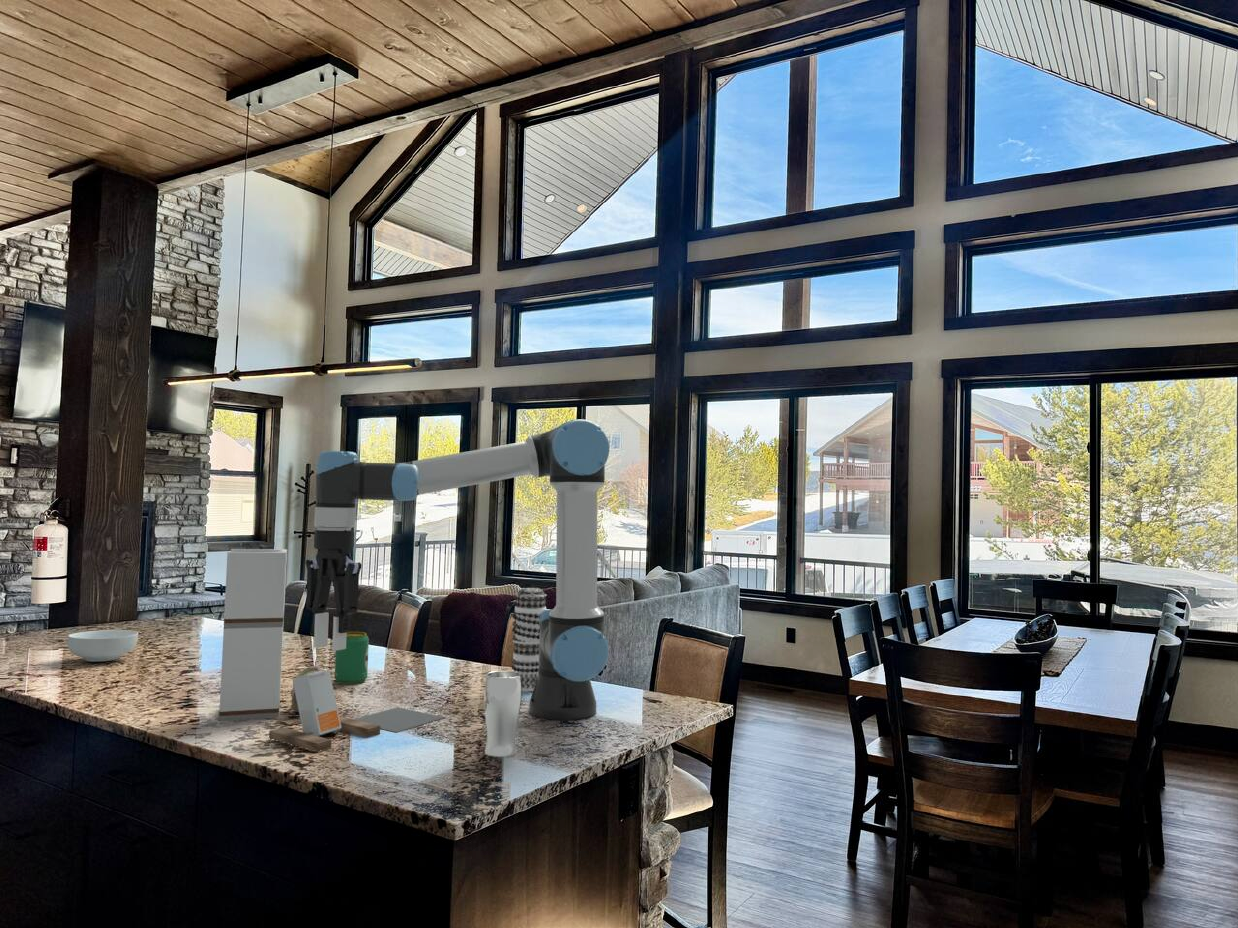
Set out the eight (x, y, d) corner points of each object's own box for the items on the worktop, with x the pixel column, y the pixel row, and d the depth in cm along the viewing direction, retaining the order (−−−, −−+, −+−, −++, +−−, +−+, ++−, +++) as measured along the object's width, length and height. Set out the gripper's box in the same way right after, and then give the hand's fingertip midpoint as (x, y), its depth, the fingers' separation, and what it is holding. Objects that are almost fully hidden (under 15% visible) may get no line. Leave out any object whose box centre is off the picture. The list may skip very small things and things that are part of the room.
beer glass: (520, 749, 157) (523, 670, 158) (517, 761, 150) (520, 678, 151) (484, 748, 157) (487, 669, 158) (479, 760, 150) (482, 677, 151)
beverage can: (368, 683, 208) (370, 635, 209) (335, 685, 205) (337, 636, 206) (365, 676, 215) (367, 630, 216) (333, 678, 212) (335, 631, 213)
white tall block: (279, 705, 184) (287, 549, 186) (278, 717, 174) (286, 552, 176) (223, 709, 180) (231, 548, 182) (218, 721, 170) (227, 552, 172)
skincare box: (319, 735, 157) (306, 674, 160) (304, 740, 159) (290, 679, 161) (343, 727, 163) (329, 668, 165) (328, 732, 165) (314, 673, 167)
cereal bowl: (149, 658, 231) (150, 633, 231) (85, 667, 217) (86, 640, 217) (117, 651, 240) (118, 626, 240) (54, 659, 226) (55, 633, 226)
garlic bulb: (290, 708, 182) (292, 662, 183) (330, 705, 185) (332, 661, 186) (289, 719, 173) (291, 671, 174) (331, 716, 176) (333, 669, 177)
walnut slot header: (379, 735, 163) (380, 725, 164) (317, 754, 151) (318, 743, 151) (332, 724, 171) (332, 714, 171) (268, 741, 158) (269, 730, 158)
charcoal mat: (444, 719, 177) (444, 717, 177) (396, 734, 165) (396, 731, 165) (397, 709, 184) (397, 707, 184) (348, 723, 172) (348, 720, 172)
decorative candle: (503, 689, 205) (507, 589, 206) (517, 682, 214) (520, 586, 215) (538, 693, 203) (542, 591, 204) (550, 685, 212) (553, 587, 213)
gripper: (380, 530, 161) (376, 650, 160) (320, 527, 170) (315, 640, 169) (350, 531, 155) (345, 656, 154) (289, 527, 164) (284, 645, 163)
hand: (329, 647), depth 161 cm, fingers open, 5 cm apart
